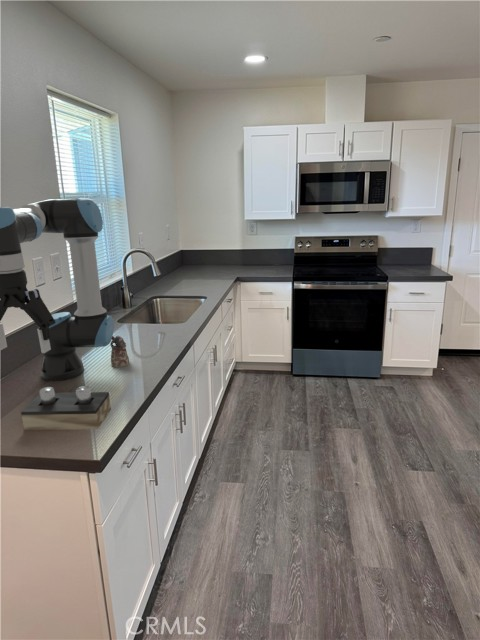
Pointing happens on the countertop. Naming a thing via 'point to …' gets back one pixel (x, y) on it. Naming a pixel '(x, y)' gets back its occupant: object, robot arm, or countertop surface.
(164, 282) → the countertop surface
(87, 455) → the countertop surface
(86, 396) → the steel peg
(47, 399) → the steel peg
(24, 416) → the block
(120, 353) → the figurine
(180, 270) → the countertop surface
